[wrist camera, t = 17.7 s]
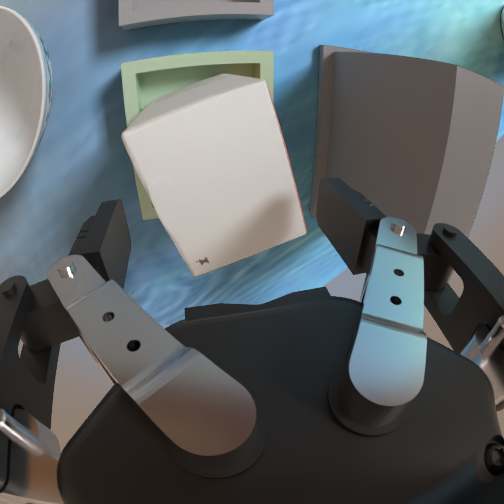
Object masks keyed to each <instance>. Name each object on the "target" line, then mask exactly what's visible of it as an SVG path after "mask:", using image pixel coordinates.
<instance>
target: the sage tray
mask: <svg viewBox="0 0 504 504" xmlns="http://www.w3.org/2000/svg"><path fill="white" fill-rule="evenodd" d="M222 73H225V74H233V75H239V76H246V77H251V78H258V79H263V80H265V81H267V85H268V88H269V91H270V94H271V97H272V101H273V88H274V51H217V52H201V53H189V54H179V55H170V56H163V57H155V58H149V59H143V60H137V61H131V62H126V63H121V74H122V85H123V96H124V105H125V114H126V122H127V127H128V126H129V125H130V124H131V123H132V122H133V121H134V119H135V118H136V117H137V116H138V115H139V114H140V113H141V111H142V110H143V109H144V108H145V107H146V106H147V105H148V104H149V103H150V101H152V100H154V99H156V98H158V97H161V96H163V95H166V94H168V93H170V92H173V91H175V90H178V89H180V88H183V87H185V86H188V85H191V84H193V83H196V82H199V81H201V80H204V79H207V78H210V77H213V76H216V75H218V74H222ZM133 169H134V175H135V181H136V187H137V192H138V197H139V202H140V207H141V212H142V217H143V220H149V219H156V218H159V217H158V215H157V213H156V211H155V209H154V207H153V204H152V202H151V200H150V198H149V196H148V194H147V192H146V190H145V188H144V186H143V184H142V182H141V180H140V178H139V176H138V174H137V172H136V170H135V167H134V165H133Z"/></svg>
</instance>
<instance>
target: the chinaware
mask: <svg viewBox="0 0 504 504" xmlns="http://www.w3.org/2000/svg"><path fill="white" fill-rule="evenodd" d="M52 92H53V77H52V68H51V62H50V58H49V55H48V51H47V49H46V46H45V44H44V42H43V40H42V38H41V36H40V35H39V33H38V32H37V30H36V29H35V28H34V27H33V25H32V24H31V23H30V22H29V21H28V20H26V19H25V18H24V17H23V16H21V15H20V14H19V13H17V12H15V11H13V10H12V9H9V8H6V7H3V6H0V198H1V197H2V196H3V195H5V194H6V193H7V192H8V191H9V190H10V189H11V188H12V187H13V186H14V185H15V183H16V182H17V181H18V180H19V178H20V177H21V176H22V174H23V173H24V171H25V170H26V168H27V166H28V165H29V163H30V161H31V159H32V158H33V156H34V154H35V152H36V150H37V148H38V146H39V143H40V141H41V139H42V136H43V133H44V131H45V128H46V125H47V121H48V117H49V113H50V108H51V102H52Z"/></svg>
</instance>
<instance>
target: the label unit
mask: <svg viewBox="0 0 504 504" xmlns="http://www.w3.org/2000/svg"><path fill="white" fill-rule="evenodd" d="M503 95H504V86H502V85H500V84H498V83H496V82H494V81H492V80H490V79H488V78H485V77H483V76H481V75H479V74H477V73H474V72H472V71H470V70H467V69H465V68H463V67H460V66H458V65H453V64H449V63H444V62H438V61H433V60H427V59H420V58H414V57H406V56H398V55H388V54H377V53H371V52H365V51H360V50H354V49H348V48H342V47H335V46H328V45H320V52H319V85H318V107H317V125H316V141H315V155H314V168H313V181H312V192H311V203H310V214H311V216H312V217H316V211H317V202H318V192H319V183H320V181H321V179H322V178H340V179H342V180H343V181H344V182H345V183H346V184H347V185H348V186H349V187H351V188H352V189H354V190H356V191H358V192H360V193H362V194H363V195H364V196H365V197H366V198H367V199H368V200H369V201H370V202H371V203H373V205H375V206H376V207H377V208H378V209H379V210H380V211H381V212H382V213H383V214H384V215H385V216H386V217H397V218H401V219H404V220H406V221H408V222H409V223H411V224H412V225H413V226H414V227H415V228H416V231H417V233H421V234H429V235H431V233H432V229H433V226H434V225H435V224H437V223H445V224H449V225H451V226H453V227H455V228H457V229H458V230H460V231H461V232H462V233H463V234H464V235H465V236H466V237H467V238H468V236H469V234H470V231H471V228H472V225H473V223H474V219H475V217H476V214H477V211H478V208H479V204H480V201H481V198H482V195H483V191H484V188H485V185H486V181H487V177H488V174H489V169H490V166H491V162H492V157H493V153H494V149H495V144H496V139H497V134H498V129H499V123H500V117H501V110H502V103H503ZM454 271H455V270H454V269H453V271H452V273H451V275H450V278H449V280H448V282H447V283H449V282H450V280H451V277H452V275H453V273H454Z"/></svg>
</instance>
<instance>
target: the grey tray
mask: <svg viewBox="0 0 504 504" xmlns="http://www.w3.org/2000/svg"><path fill="white" fill-rule="evenodd" d="M273 15H274V0H119V26H120V27H121V28H123V29H125V30H131V29H136V28H142V27H148V26H155V25H162V24H170V23H179V22H190V21H204V20H233V19H245V20H264V19H266V18H268V17H270V16H273Z"/></svg>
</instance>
